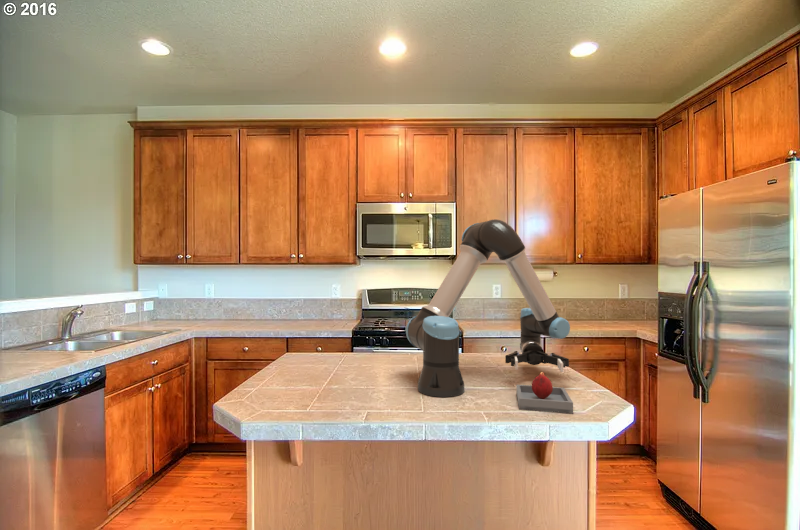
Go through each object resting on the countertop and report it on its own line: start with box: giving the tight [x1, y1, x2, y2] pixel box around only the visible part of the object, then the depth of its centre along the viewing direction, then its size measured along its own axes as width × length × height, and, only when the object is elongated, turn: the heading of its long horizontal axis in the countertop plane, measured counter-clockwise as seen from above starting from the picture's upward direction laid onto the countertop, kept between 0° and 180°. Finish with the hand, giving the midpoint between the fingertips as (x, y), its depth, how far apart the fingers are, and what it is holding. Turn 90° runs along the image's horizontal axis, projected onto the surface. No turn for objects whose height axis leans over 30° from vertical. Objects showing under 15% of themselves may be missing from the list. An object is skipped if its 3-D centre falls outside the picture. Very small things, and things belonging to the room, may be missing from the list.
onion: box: [531, 371, 554, 399], centre depth 112 cm, size 6×6×8 cm
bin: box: [515, 384, 574, 415], centre depth 112 cm, size 14×14×3 cm
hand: (539, 366), depth 121 cm, fingers open, 13 cm apart
